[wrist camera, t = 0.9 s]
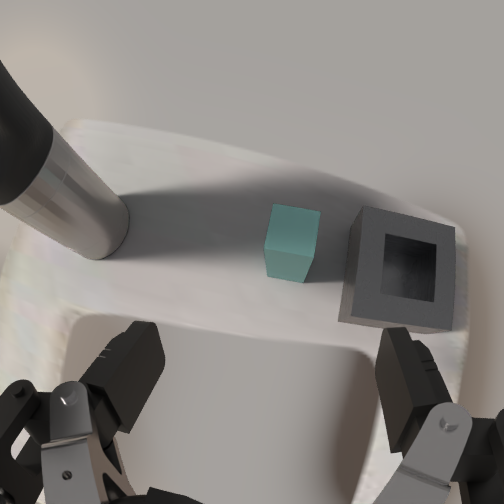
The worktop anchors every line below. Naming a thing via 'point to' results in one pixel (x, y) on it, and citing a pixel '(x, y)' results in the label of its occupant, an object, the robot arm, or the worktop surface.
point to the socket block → (399, 273)
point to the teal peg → (290, 242)
